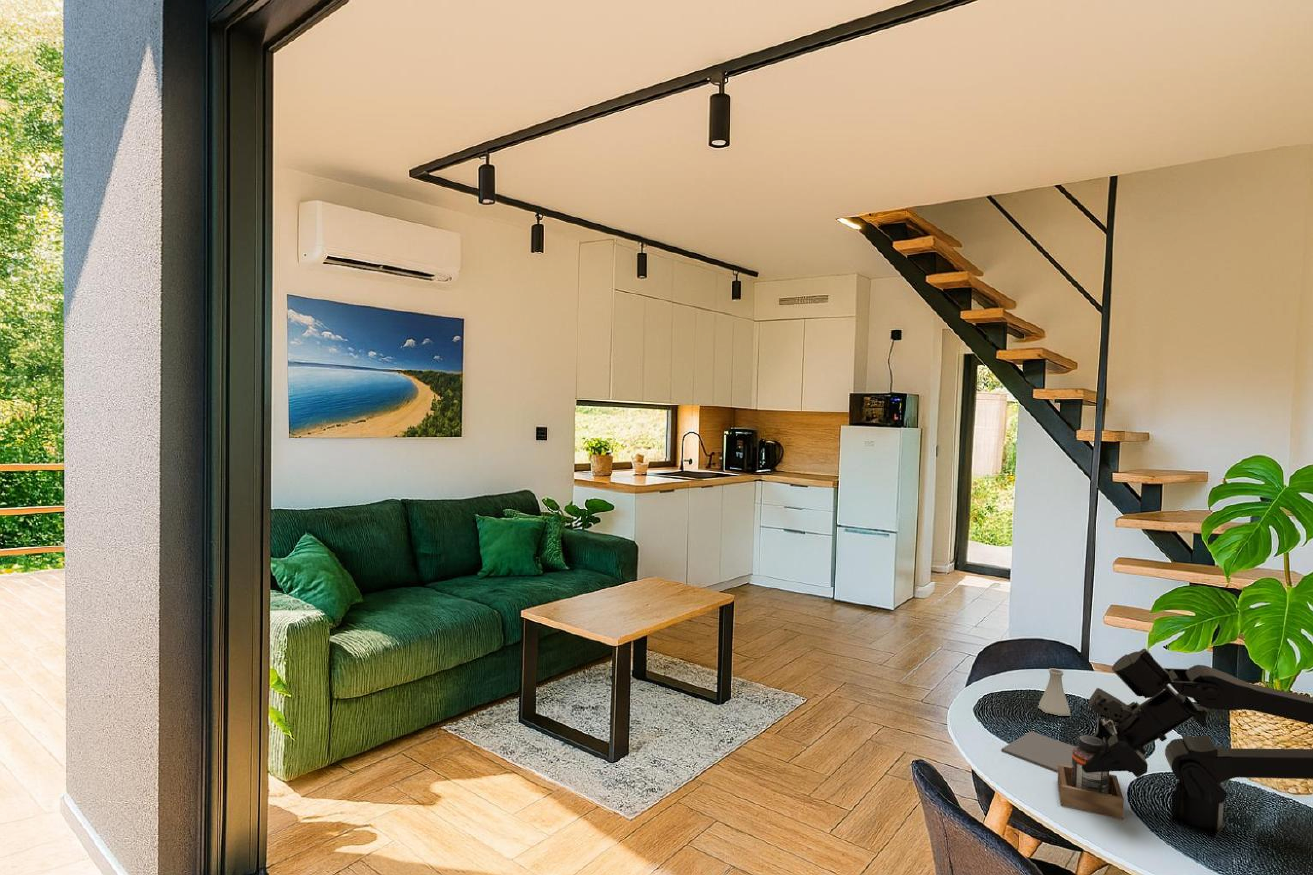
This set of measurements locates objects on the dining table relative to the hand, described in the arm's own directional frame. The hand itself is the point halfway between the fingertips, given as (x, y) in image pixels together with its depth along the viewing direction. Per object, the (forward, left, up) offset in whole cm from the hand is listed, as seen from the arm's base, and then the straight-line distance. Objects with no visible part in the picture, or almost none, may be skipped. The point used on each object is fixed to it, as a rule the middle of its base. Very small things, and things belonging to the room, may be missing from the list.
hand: (1081, 762), depth 136 cm
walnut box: (-1, -1, -7) cm, 7 cm away
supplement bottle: (-1, -1, -7) cm, 7 cm away
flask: (+20, -38, -7) cm, 43 cm away
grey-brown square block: (+11, -14, -7) cm, 19 cm away
